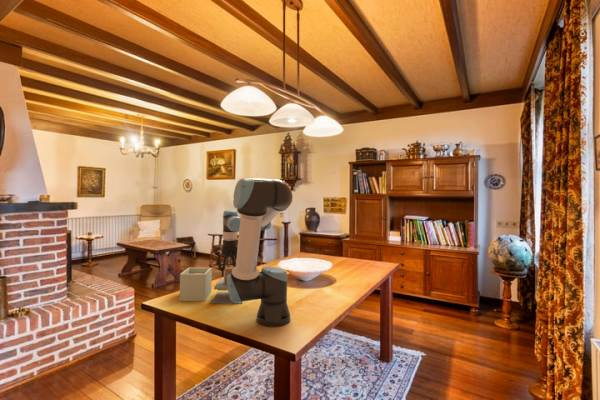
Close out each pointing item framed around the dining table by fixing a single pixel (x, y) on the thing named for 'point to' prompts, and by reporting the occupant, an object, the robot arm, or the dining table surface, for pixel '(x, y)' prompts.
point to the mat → (223, 299)
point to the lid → (221, 284)
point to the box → (195, 284)
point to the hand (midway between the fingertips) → (229, 282)
